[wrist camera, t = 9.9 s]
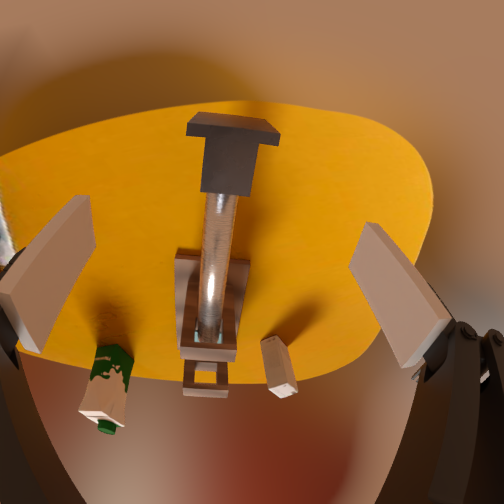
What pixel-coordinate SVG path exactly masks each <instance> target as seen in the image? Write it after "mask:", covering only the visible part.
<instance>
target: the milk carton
mask: <svg viewBox="0 0 504 504" xmlns="http://www.w3.org/2000/svg"><path fill="white" fill-rule="evenodd" d="M133 364H134V360H133V359H132V358H131V357H130V356H129V355H128V354H127V353H126V352H125V351H124V350H123V349H122V348H121V347H120V346H119V345H118V344H115V345H110V346H104V347H99V348H97V350H96V355H95V360H94V364H93V367H92V371H91V375H90V378H89V382H88V386H87V389H86V393H85V396H84V398H83V400H82V403H81V405H80V407H79V409H78V411H79V412H81V413H82V414H84V415H85V416H86V417H87V418H89V419H91V420H93V421H94V422H96V423H97V424H98V430H99V431H101V432H104V433H106V434H111V435H114V434H115V431H116V427H121V426H125V412H124V409H125V402H126V395H127V390H128V385H129V379H130V375H131V371H132V368H133Z"/></svg>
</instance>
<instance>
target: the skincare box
mask: <svg viewBox="0 0 504 504" xmlns="http://www.w3.org/2000/svg"><path fill="white" fill-rule="evenodd" d="M260 344H261V350H262V355H263V361H264V367H265V373H266V378H267V384H268V389H269V390H270V391H272V392H273V393H275V394H276V395H277V396H279V397H280V398H283V397H286V396H289V395H292V394H294V393H297V392H298V388H297V384H296V380H295V376H294V372H293V368H292V364H291V360H290V356H289V352H288V348H287V347H286V345H285V344H284V343H283V342H282V341H281V339H280V338H279V337H278V336H277V335H275V336H272V337H269V338H267V339H264V340H262V341H261V342H260Z"/></svg>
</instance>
